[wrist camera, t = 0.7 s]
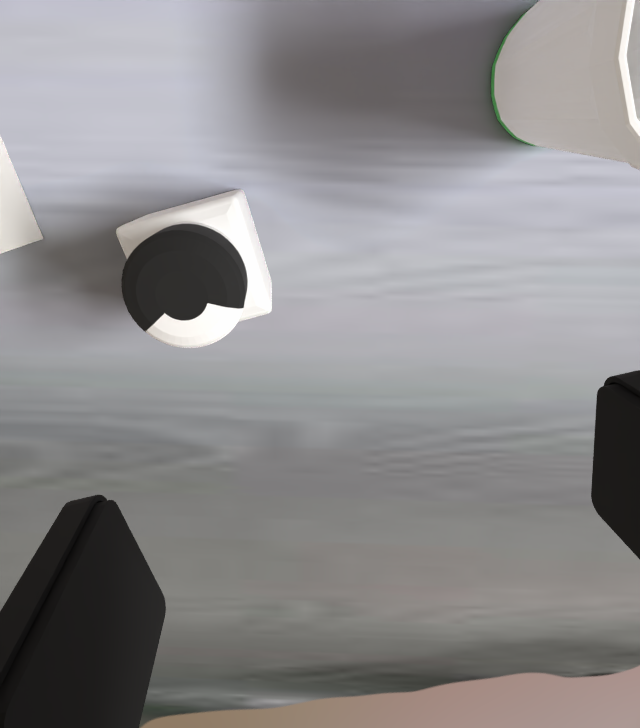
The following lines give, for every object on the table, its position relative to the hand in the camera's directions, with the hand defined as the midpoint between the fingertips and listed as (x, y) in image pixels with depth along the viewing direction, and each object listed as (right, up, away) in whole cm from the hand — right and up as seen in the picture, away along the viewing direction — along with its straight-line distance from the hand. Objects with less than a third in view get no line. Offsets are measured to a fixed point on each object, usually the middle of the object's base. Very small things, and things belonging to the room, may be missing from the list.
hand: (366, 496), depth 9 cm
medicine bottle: (-9, +11, +24) cm, 28 cm away
